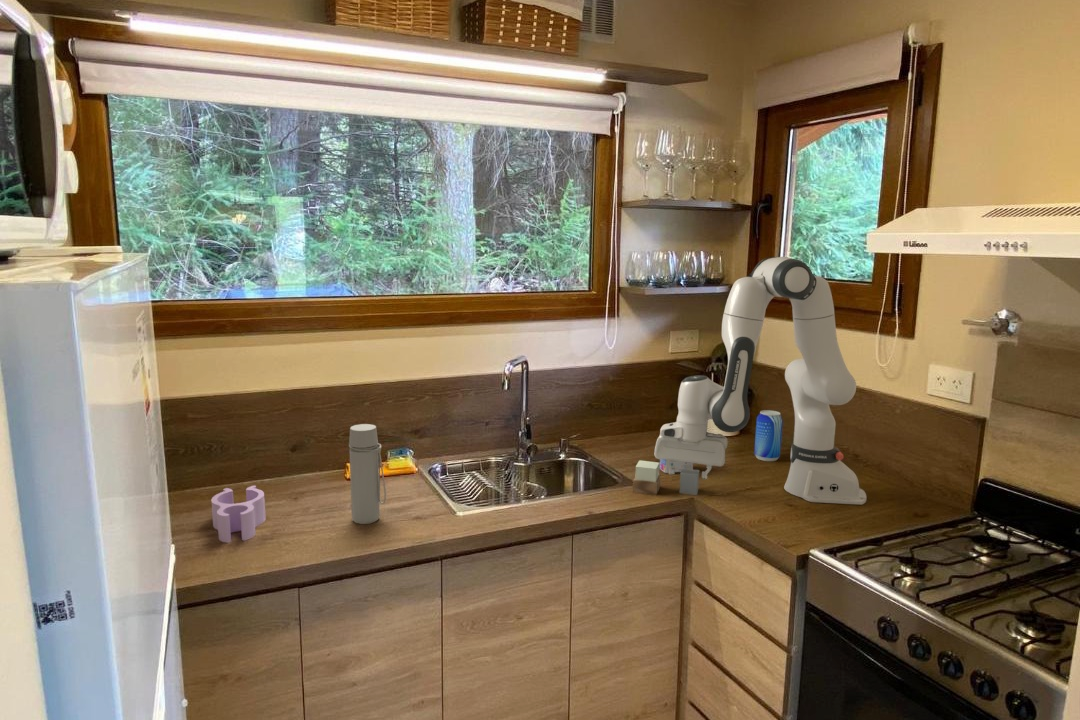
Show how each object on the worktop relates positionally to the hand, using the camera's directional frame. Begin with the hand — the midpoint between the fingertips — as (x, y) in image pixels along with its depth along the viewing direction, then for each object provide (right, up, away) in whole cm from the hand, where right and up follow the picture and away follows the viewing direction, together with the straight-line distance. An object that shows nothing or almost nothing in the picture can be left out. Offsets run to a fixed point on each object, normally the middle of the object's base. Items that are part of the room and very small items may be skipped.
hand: (687, 476), depth 206 cm
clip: (-120, -8, -27) cm, 123 cm away
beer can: (+34, 0, +33) cm, 47 cm away
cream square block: (-12, -1, +1) cm, 12 cm away
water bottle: (-88, -8, -23) cm, 91 cm away
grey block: (+1, -5, +1) cm, 5 cm away
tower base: (-12, -5, +2) cm, 13 cm away
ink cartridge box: (0, -1, +20) cm, 20 cm away
